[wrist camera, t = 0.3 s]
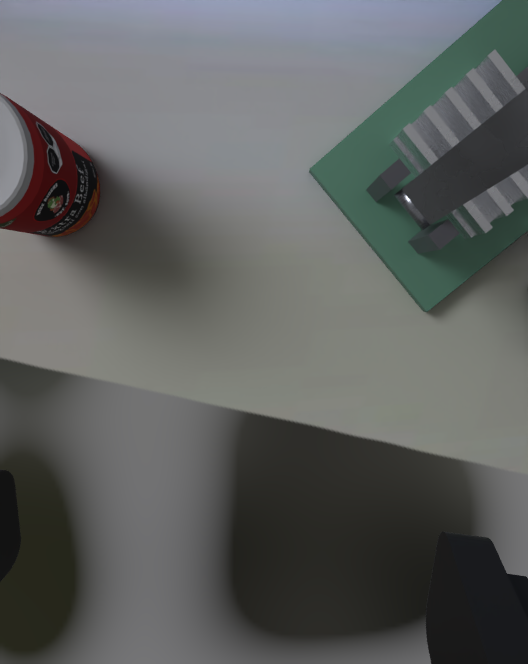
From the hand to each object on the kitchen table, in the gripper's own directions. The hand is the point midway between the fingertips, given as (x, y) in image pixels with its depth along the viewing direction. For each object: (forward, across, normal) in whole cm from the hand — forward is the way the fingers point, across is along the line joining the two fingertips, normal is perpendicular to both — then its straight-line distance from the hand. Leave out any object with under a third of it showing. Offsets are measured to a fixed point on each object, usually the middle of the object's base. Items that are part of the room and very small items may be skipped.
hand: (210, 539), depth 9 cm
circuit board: (+32, -11, -10) cm, 36 cm away
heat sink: (+31, -11, -10) cm, 35 cm away
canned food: (+29, +20, -6) cm, 36 cm away
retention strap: (+22, -9, -9) cm, 25 cm away
